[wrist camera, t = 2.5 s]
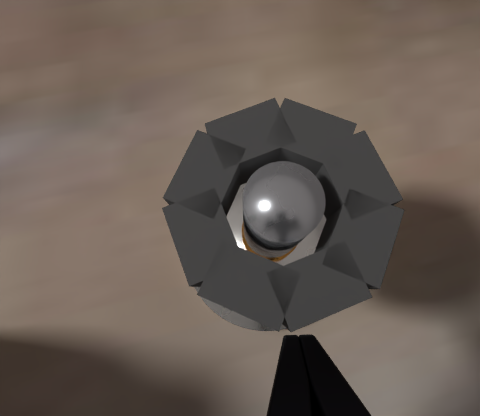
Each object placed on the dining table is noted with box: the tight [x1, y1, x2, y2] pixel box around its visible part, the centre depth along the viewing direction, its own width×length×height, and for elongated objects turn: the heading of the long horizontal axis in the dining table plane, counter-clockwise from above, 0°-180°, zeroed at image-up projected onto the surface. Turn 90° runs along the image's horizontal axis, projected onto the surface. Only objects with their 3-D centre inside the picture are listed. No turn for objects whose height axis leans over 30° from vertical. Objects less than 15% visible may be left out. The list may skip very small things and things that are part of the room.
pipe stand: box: [195, 161, 326, 331], centre depth 17 cm, size 11×11×12 cm
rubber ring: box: [162, 98, 404, 332], centre depth 12 cm, size 8×8×2 cm
